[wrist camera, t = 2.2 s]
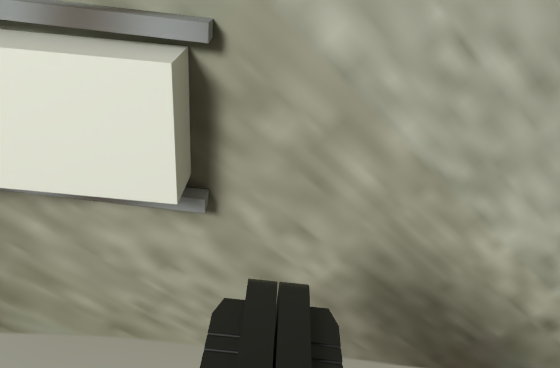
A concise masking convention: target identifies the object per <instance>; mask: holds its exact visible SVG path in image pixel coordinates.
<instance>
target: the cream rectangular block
mask: <svg viewBox="0 0 560 368" xmlns="http://www.w3.org/2000/svg"><path fill="white" fill-rule="evenodd" d="M190 176H191V153H190V109H189V65H188V46H179V45H168V44H157V43H147V42H136V41H125V40H114V39H104V38H93V37H82V36H71V35H60V34H50V33H39V32H28V31H17V30H7V29H0V188H7V189H18V190H29V191H39V192H50V193H61V194H71V195H82V196H93V197H103V198H114V199H125V200H135V201H146V202H157V203H167V204H178V202H179V200H180V197H181V195H182V193H183V191H184V189H185V187H186V184H187V182H188V180H189V178H190Z"/></svg>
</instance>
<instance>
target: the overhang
mask: <svg viewBox="0 0 560 368" xmlns="http://www.w3.org/2000/svg"><path fill="white" fill-rule="evenodd" d="M0 20H9V21H18V22H27V23H35V24H44V25H53V26H62V27H70V28H79V29H88V30H96V31H105V32H114V33H123V34H131V35H140V36H149V37H157V38H166V39H175V40H184V41H192V42H201V43H209V42H210V41H211V39H212V38H213V19H211V18H203V17H194V16H185V15H177V14H168V13H159V12H151V11H142V10H133V9H124V8H116V7H107V6H98V5H90V4H81V3H72V2H64V1H55V0H0ZM0 190H3V191H12V192H21V193H30V194H39V195H48V196H56V197H65V198H74V199H83V200H92V201H101V202H110V203H119V204H127V205H136V206H145V207H154V208H163V209H172V210H181V211H189V212H198V213H205V211H206V208H207V205H208V202H209V190H208V189H199V188H190V187H185V189H184V191H183V193H182V195H181V197H180V200H179V202H178V204H167V203H157V202H146V201H135V200H125V199H114V198H103V197H93V196H82V195H71V194H61V193H50V192H39V191H29V190H18V189H7V188H0Z"/></svg>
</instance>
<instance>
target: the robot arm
mask: <svg viewBox="0 0 560 368" xmlns="http://www.w3.org/2000/svg"><path fill="white" fill-rule="evenodd" d="M276 299H277V303H276ZM340 346H341V344H340V335H339V326H338V324H337V322H336V321H335V319H334V317H333V316H332V314H331V312H330V311H329V309H327V308H317V307H310V296H309V285H305V284H296V283H286V282H280V283H279V289H278V296H277V282H275V281H266V280H256V279H248V285H247V292H246V299H245V300H239V299H229V298H224V299H223V301H222V302H221V303H220V304H219V305H218V307H217V308H216V309H215V310H214V312H213V313H212V317H211V321H210V325H209V330H208V336H207V339H206V343H205V348H204V353H203V357H202V361H201V366H200V368H343V366H342V354H341V349H340Z"/></svg>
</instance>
